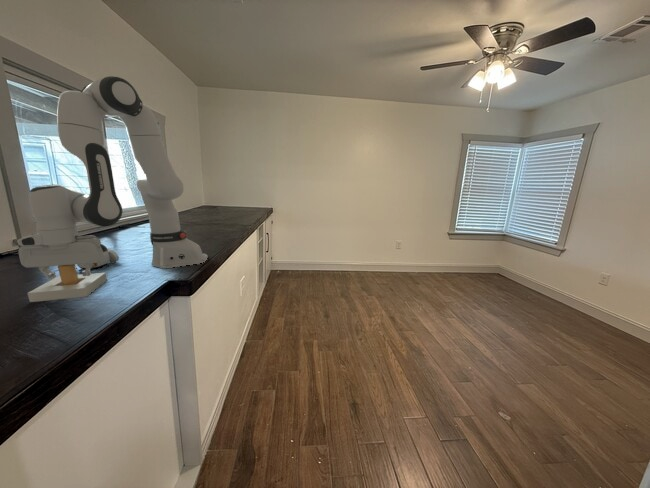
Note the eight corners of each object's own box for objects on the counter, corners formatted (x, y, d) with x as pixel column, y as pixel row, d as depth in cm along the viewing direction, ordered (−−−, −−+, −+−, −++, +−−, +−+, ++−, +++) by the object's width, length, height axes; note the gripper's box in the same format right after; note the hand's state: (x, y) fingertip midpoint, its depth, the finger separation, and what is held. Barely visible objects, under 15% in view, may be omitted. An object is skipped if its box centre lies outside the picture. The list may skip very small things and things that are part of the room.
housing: (107, 280, 95) (105, 272, 95) (86, 296, 82) (84, 287, 82) (59, 284, 91) (57, 276, 90) (30, 302, 78) (27, 293, 77)
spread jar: (74, 271, 103) (67, 243, 100) (91, 262, 114) (85, 237, 111) (110, 269, 106) (104, 242, 103) (122, 260, 117) (118, 235, 114)
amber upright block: (83, 287, 89) (77, 262, 87) (76, 291, 86) (70, 266, 83) (68, 288, 88) (62, 263, 86) (61, 293, 84) (54, 267, 82)
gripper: (103, 233, 88) (111, 270, 92) (25, 236, 82) (37, 276, 86) (93, 237, 82) (102, 277, 86) (9, 240, 76) (22, 284, 80)
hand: (69, 277), depth 86 cm, fingers open, 8 cm apart
